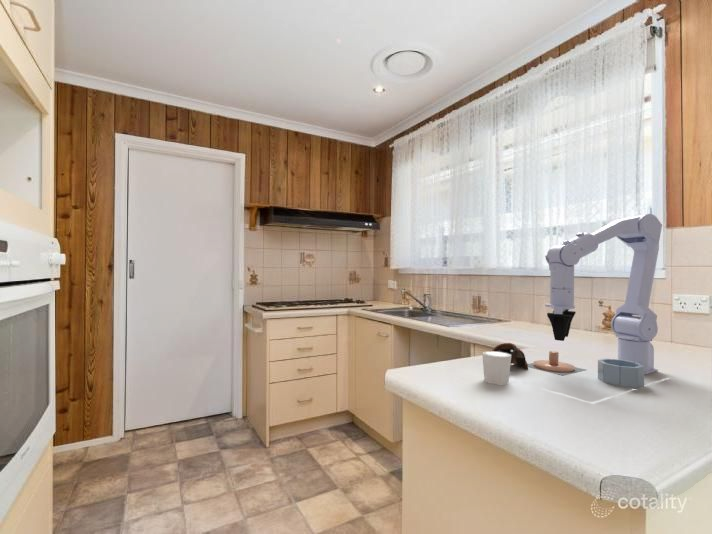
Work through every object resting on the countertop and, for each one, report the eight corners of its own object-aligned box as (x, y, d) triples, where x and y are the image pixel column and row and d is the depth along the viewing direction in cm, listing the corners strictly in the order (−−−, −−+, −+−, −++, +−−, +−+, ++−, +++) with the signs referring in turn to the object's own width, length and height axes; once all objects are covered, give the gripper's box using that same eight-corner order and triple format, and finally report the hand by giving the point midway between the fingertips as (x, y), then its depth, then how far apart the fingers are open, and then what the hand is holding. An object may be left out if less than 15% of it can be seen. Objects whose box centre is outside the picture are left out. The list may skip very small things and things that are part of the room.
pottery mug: (536, 375, 100) (525, 350, 99) (503, 388, 102) (491, 364, 100) (520, 354, 112) (510, 331, 110) (490, 366, 113) (480, 344, 112)
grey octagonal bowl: (609, 376, 99) (609, 357, 99) (648, 385, 91) (649, 364, 91) (592, 380, 94) (592, 361, 94) (632, 390, 87) (632, 369, 87)
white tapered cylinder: (515, 381, 93) (515, 353, 93) (504, 387, 88) (505, 358, 88) (488, 375, 97) (489, 349, 98) (477, 381, 92) (477, 353, 92)
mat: (545, 361, 114) (545, 360, 114) (586, 371, 104) (586, 369, 104) (521, 366, 108) (521, 365, 108) (562, 377, 97) (562, 375, 97)
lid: (546, 361, 113) (546, 347, 113) (582, 369, 104) (582, 353, 104) (525, 365, 107) (526, 350, 107) (561, 374, 98) (561, 357, 98)
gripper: (550, 287, 109) (549, 333, 109) (541, 289, 98) (540, 340, 98) (577, 288, 105) (577, 336, 105) (571, 290, 94) (571, 343, 93)
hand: (561, 338), depth 101 cm, fingers open, 7 cm apart
